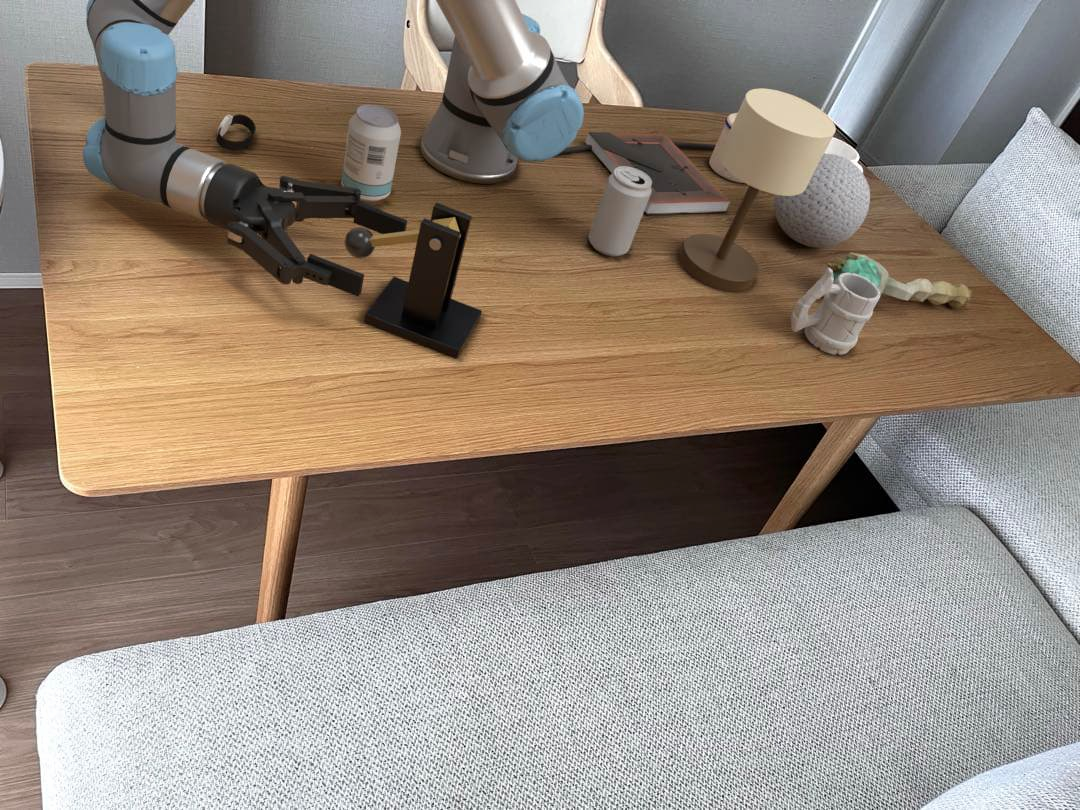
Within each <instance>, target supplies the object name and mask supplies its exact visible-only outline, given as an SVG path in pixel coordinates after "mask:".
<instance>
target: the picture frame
mask: <svg viewBox="0 0 1080 810" xmlns="http://www.w3.org/2000/svg"><path fill="white" fill-rule="evenodd" d="M673 142H674V141H672V140H671V139H670V138H669V137H668V136H667V135H666V134H665V133H624V132H623V133H622V132H621V133H620V132H619V133H617V132H616V133H615V132H608V131H588V133H587V135H586V139H585V141H584V143H585V145H590V144H591V145H592V150H591V151H592V152H593V154H594V155H595V156H596V157H597V158H598V159H599V161H600V162H601V163H602V164H603V165H604V167H605V168H606V169H607V170H608V171H609V172H610V174H612V173H614V170H615V169H616V168H617V167H620V166H628V167H633V168H636V169H638V170H640V171H642V172H644V173H646V174H647V175H648V176H649V177H650V178H651V180H652V185H651V190H652V192H651V195H650V197H649V200H648V202H647V205H646V207H645V210H644V214H646V215H666V214H667V215H670V214H671V215H673V214H698V213H699V214H701V213H702V214H704V213H707V214H708V213H724V212H726V211H727V209H728V207H729V205H730V203H731V200H729V199H728V198H727V197H726V195H724V193H723V192H722V191H720V189H718V187H717V186H716V185H715V184H714V183H713V182H712V181H711V180H710V179H709V178H708V177H707V176H706V175H705V174H704V173H703V172H702V171H701V169H699V168H698V166H696V165H695V163H694V162H692V161H691V160H690V158H688V156H687V155H686V154H685V153H683V151H682V150H681V149H680V147H677V146H676V145H675V144H674V143H673Z"/></svg>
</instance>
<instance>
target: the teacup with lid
mask: <svg viewBox="0 0 1080 810" xmlns="http://www.w3.org/2000/svg"><path fill="white" fill-rule="evenodd" d="M737 114H738V112H733V113H731V114H729V115H728V116H727V117H726V118H725V121H724V126H723V128H722V130H721V133H720V135H719V137H718V140H717V142H716V144H715V145H716V146H715V149H713V151H712V153H711V155H710V158H709V161H708V163H709V166H710V168H711V170H712V171H714V172H715V174H717V175H719V176H720V177H722V178H724V179H726V180H728V181H731V182H734V183H741V184H745V183H744V182H742V181H741V180H739V179H738V178H736V177H735V176H734V175H732V174H731V173H730V172H729V171H728V170H727V169H726V168H725V167H724V165H723V164H722V162H721V160H720V152H721V150H722V148H723V145H724V143H725V141H726V139H727V136H728V134H729V132H730V129H731V127H732V125H733V123H734V120H735V118H736V116H737Z"/></svg>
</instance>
